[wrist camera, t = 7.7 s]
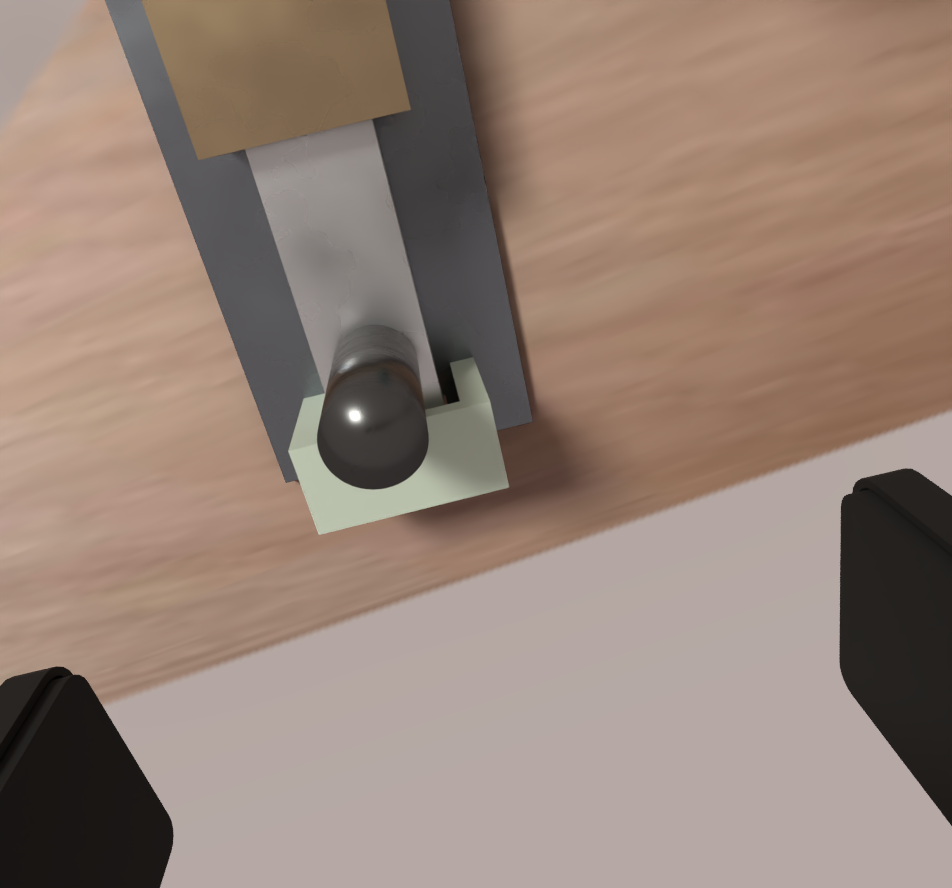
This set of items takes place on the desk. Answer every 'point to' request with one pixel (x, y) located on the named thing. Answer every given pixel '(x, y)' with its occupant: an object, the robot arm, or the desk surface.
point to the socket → (434, 483)
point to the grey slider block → (352, 299)
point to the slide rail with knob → (313, 110)
